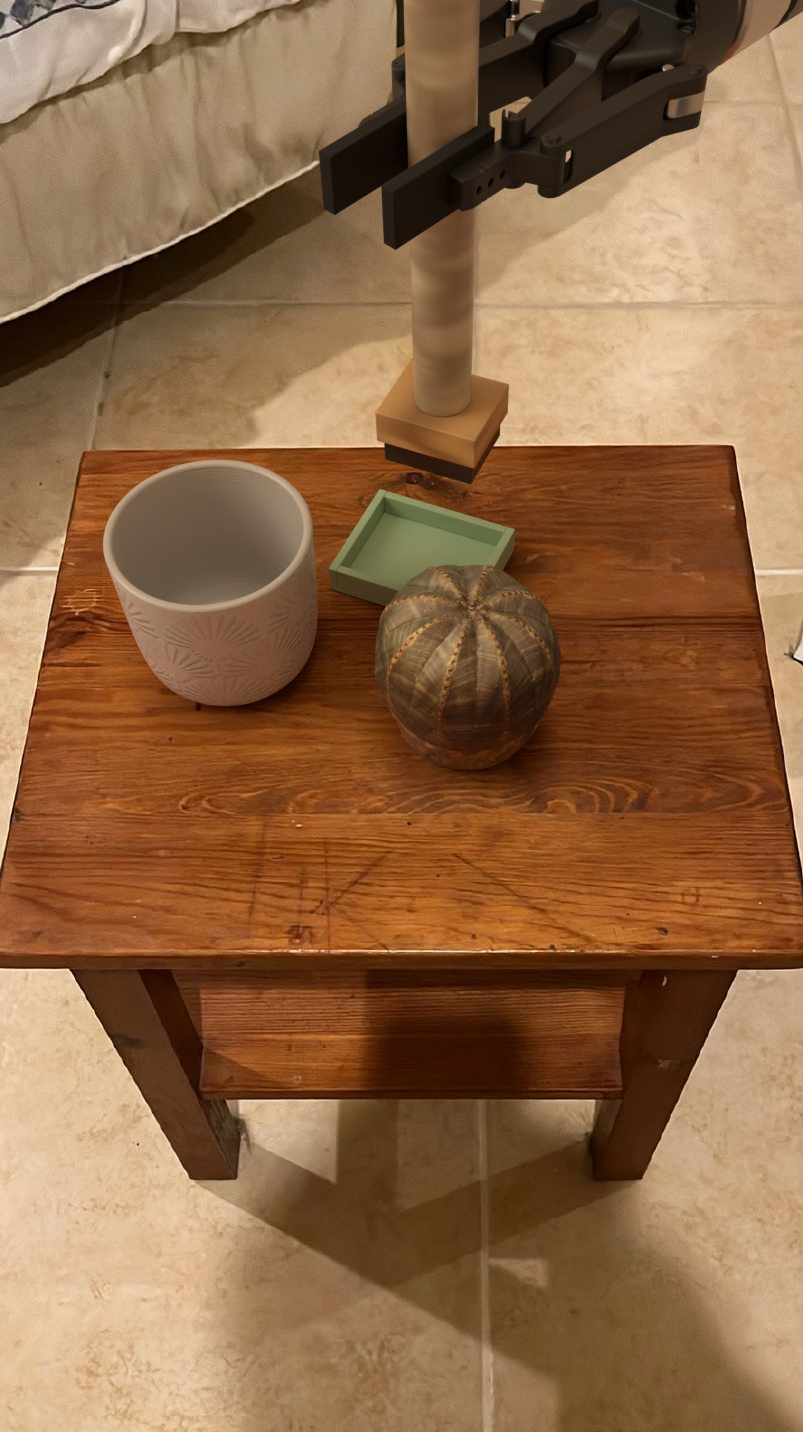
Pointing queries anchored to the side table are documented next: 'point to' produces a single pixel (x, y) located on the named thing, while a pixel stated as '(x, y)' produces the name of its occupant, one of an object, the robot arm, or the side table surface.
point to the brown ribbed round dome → (466, 664)
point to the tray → (412, 546)
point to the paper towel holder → (442, 265)
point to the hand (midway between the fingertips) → (358, 200)
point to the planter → (216, 578)
